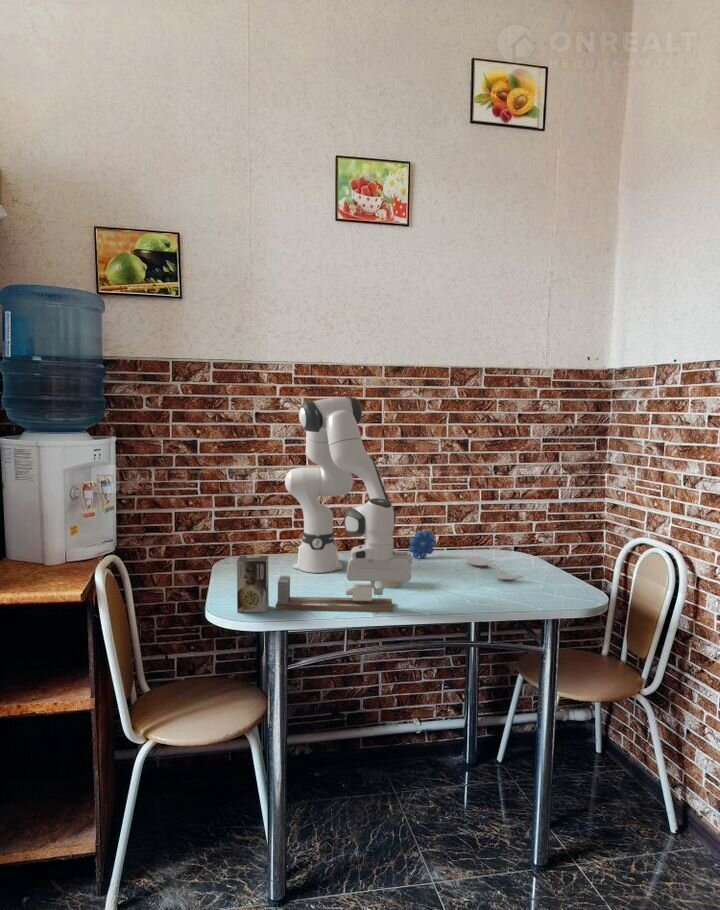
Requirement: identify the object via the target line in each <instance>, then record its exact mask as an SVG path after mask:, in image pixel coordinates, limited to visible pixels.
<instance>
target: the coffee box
mask: <svg viewBox="0 0 720 910" xmlns="http://www.w3.org/2000/svg"><path fill="white" fill-rule="evenodd" d="M269 593H270V592H269V555H239V557H238V559H237V560H236V597H237V598H236V603H237V604H236V607H237V609H236V612H237V613H267V612H268V610H269V606H270V605H269V602H270V601H269V600H270V599H269V596H270V595H269Z"/></svg>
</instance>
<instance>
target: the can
mask: <svg viewBox="0 0 720 910" xmlns="http://www.w3.org/2000/svg"><path fill="white" fill-rule="evenodd" d="M393 551H398V552H401V551H400V550H395V549H393ZM374 585H375V587H377V588H381V586H382V581H375V584H374ZM401 586H402V582H395V581H387V585H386V586H385V588H384V589H396V588H400V587H401Z"/></svg>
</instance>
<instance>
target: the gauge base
mask: <svg viewBox="0 0 720 910" xmlns="http://www.w3.org/2000/svg"><path fill="white" fill-rule="evenodd" d="M275 610H276V611H277V610H280V611H282V610H284V611H288V610H289V611H337V612H338V611H339V612H342V611H343V612H389V613H391V612H394V606H393V600H392V598H381V597H380V598H378V597H376V598H375V597H372V601H363V604H361V601H353V597H333V596H332V597H329V596H327V597H324V596H323V597H321V596H319V597H317V596H291V576H290V575H280V576H279V578H278V581H277V600H276V603H275Z"/></svg>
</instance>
